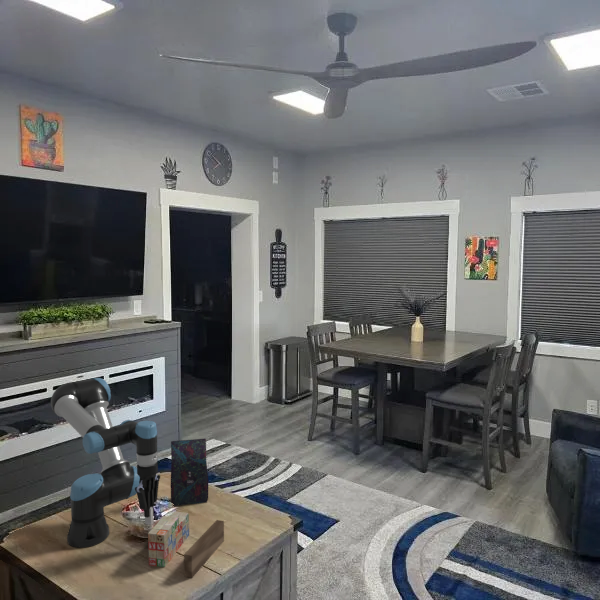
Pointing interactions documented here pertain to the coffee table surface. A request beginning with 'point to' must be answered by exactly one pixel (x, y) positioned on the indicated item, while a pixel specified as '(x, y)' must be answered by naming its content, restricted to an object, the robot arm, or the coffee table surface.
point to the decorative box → (189, 472)
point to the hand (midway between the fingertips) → (149, 523)
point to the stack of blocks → (167, 538)
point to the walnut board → (203, 548)
